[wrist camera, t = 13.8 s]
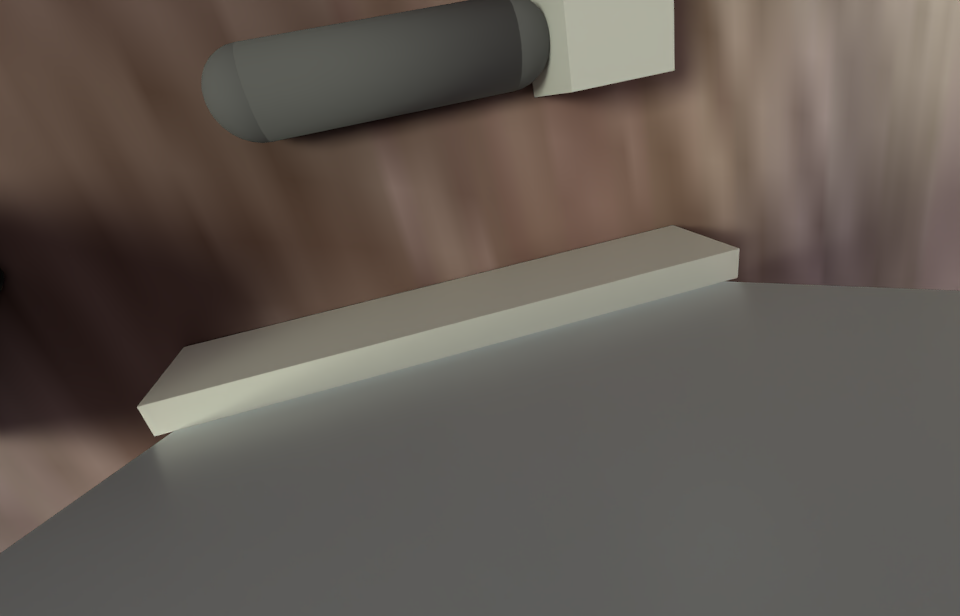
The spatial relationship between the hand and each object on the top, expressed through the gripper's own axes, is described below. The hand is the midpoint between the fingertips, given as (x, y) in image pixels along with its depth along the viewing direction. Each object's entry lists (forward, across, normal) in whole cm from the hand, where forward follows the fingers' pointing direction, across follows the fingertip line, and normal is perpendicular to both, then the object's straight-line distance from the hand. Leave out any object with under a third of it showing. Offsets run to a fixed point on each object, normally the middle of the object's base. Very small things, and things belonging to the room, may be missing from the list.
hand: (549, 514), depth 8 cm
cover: (-1, 0, -2) cm, 2 cm away
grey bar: (+10, 0, -8) cm, 13 cm away
